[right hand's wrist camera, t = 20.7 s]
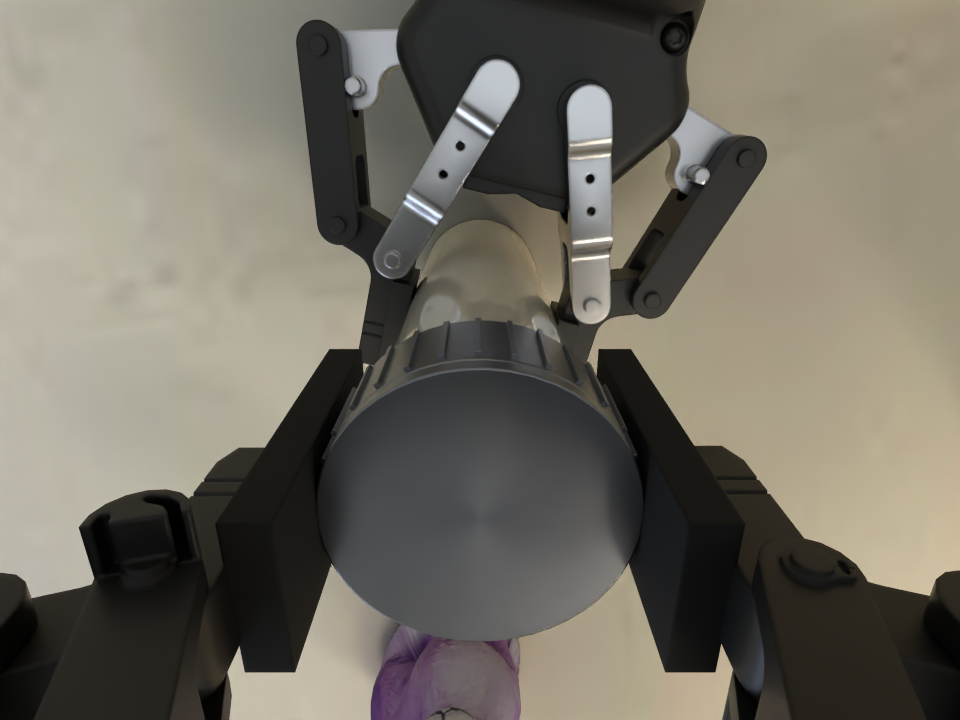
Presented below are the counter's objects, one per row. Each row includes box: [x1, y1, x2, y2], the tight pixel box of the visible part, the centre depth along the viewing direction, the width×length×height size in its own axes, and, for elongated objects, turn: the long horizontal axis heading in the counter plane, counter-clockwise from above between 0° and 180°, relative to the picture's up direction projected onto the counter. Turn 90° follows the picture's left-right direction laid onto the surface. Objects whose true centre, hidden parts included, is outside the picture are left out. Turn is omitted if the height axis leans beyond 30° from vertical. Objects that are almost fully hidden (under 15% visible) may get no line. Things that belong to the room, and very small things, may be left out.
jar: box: [395, 220, 564, 346], centre depth 19 cm, size 5×5×16 cm
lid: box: [316, 318, 644, 641], centre depth 11 cm, size 6×6×2 cm
